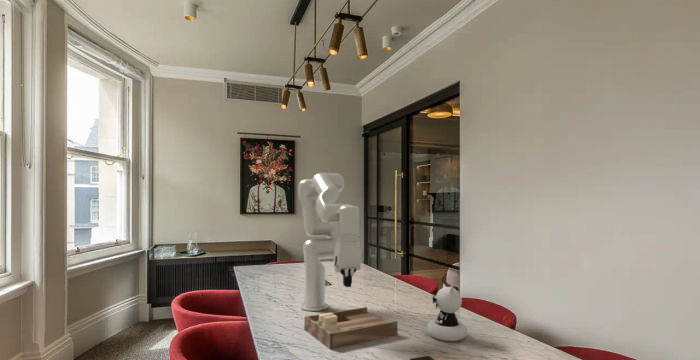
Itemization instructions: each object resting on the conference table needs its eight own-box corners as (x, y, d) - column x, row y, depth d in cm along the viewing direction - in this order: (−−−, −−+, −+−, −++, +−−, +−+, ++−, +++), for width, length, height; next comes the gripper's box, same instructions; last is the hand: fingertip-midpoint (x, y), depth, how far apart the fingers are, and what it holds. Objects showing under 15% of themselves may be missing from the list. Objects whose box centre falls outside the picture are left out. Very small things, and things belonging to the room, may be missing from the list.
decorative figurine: (422, 329, 150) (422, 277, 151) (458, 329, 152) (458, 277, 153) (433, 343, 136) (433, 286, 137) (473, 343, 137) (473, 285, 138)
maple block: (318, 328, 142) (318, 314, 142) (330, 326, 144) (331, 312, 144) (324, 332, 137) (324, 318, 138) (337, 330, 140) (337, 316, 140)
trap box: (304, 329, 149) (304, 316, 149) (366, 319, 163) (366, 307, 163) (330, 349, 130) (330, 334, 130) (397, 335, 144) (397, 321, 144)
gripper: (360, 236, 155) (359, 282, 154) (326, 237, 147) (325, 286, 147) (370, 238, 148) (369, 286, 148) (335, 240, 141) (334, 290, 140)
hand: (347, 286), depth 147 cm, fingers closed
